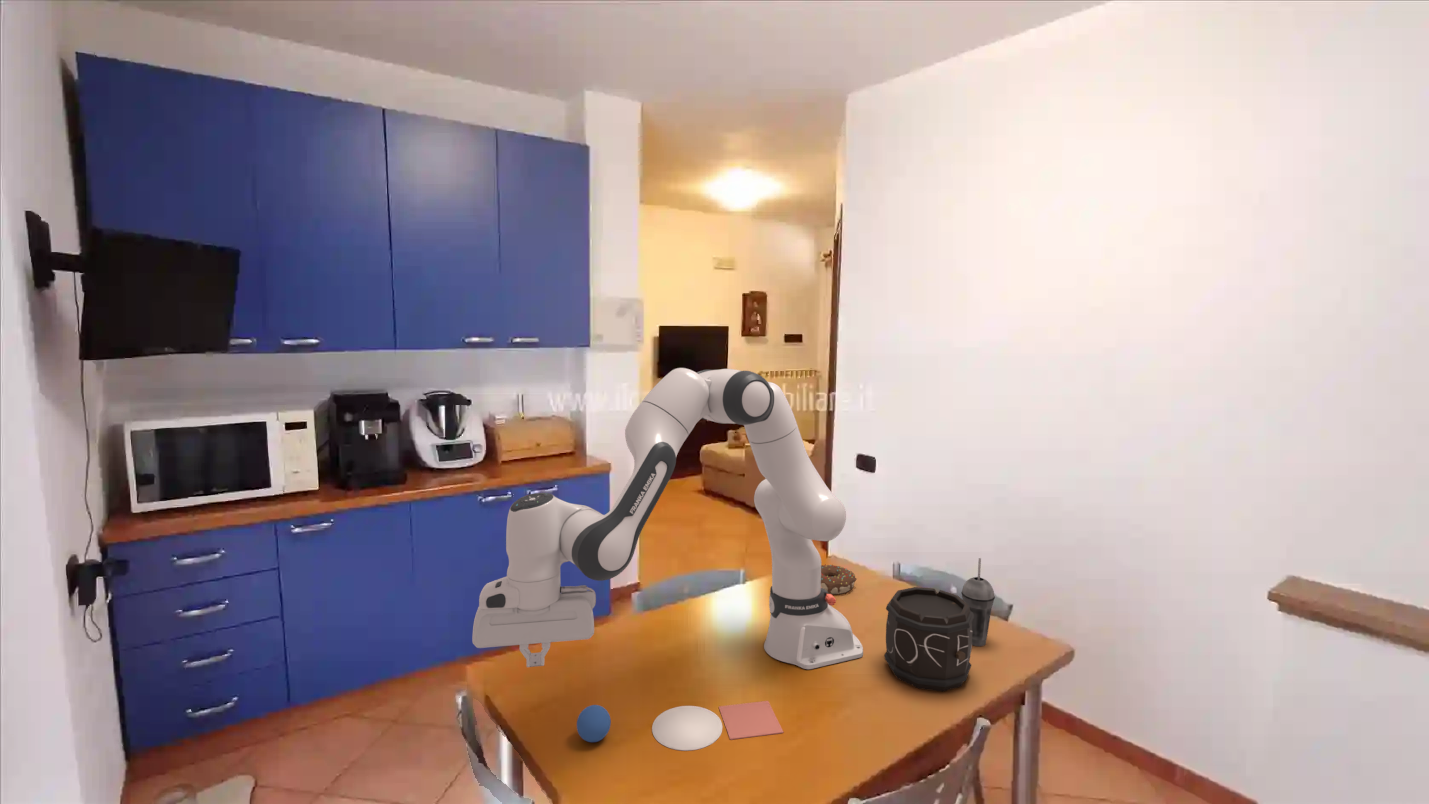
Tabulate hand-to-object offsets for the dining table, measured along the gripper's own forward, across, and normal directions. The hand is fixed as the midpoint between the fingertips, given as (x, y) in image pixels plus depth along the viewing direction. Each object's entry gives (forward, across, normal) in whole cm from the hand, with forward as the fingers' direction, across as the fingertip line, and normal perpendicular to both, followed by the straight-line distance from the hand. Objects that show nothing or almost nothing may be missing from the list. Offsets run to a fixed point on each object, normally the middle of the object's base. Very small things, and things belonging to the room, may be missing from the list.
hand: (535, 665), depth 111 cm
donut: (+15, -78, -56) cm, 97 cm away
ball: (+12, -10, 0) cm, 16 cm away
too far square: (+15, -39, 0) cm, 42 cm away
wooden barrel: (+15, -81, -9) cm, 83 cm away
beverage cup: (+14, -99, -19) cm, 102 cm away
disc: (+15, -27, 0) cm, 31 cm away
